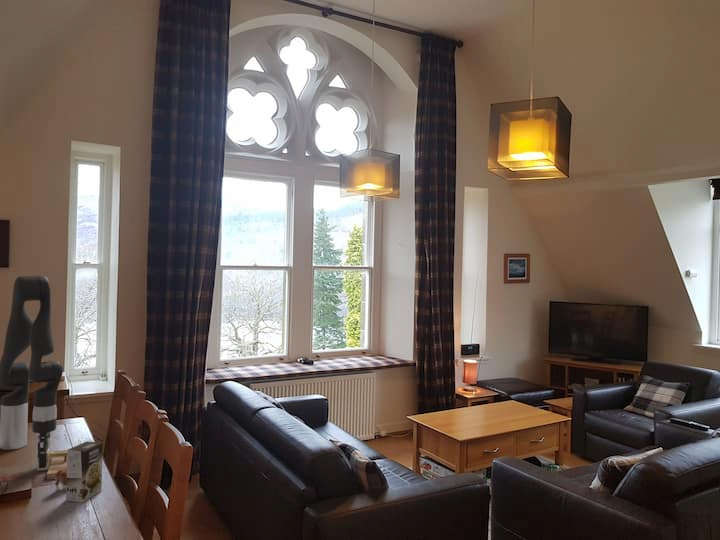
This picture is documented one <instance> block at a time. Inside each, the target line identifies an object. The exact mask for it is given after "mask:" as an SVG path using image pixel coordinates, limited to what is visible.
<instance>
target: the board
mask: <svg viewBox="0 0 720 540" xmlns="http://www.w3.org/2000/svg"><path fill="white" fill-rule="evenodd" d="M59 452H68V449H67V450H56V451H55V450H54V451H53V453H59ZM67 457H68V456H67ZM65 467H67V460H66V461H64V456H62V457H52V458H50V462H49V469H48V470H47V472H46V480H47V479H49V480H56V479H55V478H56V477H55V475H56V473H57V471H59V470H60V469H62V468H65Z"/></svg>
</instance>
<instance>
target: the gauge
mask: <svg viewBox="0 0 720 540" xmlns="http://www.w3.org/2000/svg"><path fill="white" fill-rule="evenodd" d="M42 453H44V452H41V454H42ZM62 456H64V461H66V460H67V456H68V452H59V453H54V452H51V451H50V448H49V450H47V457H46V467H45V468H39V457H38V452H37V455H36V472H39V471H48V469H49V466H50V461H51V459H52V457H62Z"/></svg>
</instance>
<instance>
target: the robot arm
mask: <svg viewBox="0 0 720 540" xmlns="http://www.w3.org/2000/svg"><path fill="white" fill-rule="evenodd" d="M51 295H52V294H51V284H50V280H49V278H48V277H47V276H46V275H21V276H20V275H19V276H18V277H16V279H15V280H14V284H13V290H12V301H11V309H10V316H9V319H8V320H9V321H8V324H7V328H6V332H5V333H6V334H5V339H4V347H3V351H2V355H1V357H0V358H1V359H0V388H13V387H17V388H15V389H14V390H13V391H11V392H10V393H8V394H5V395H3V396H2V397H1V399H0V450H7V451H9V450H18V449H22V448H25V447H26V446H27V445H28V415H29V412H28V411H29V394H30V393H29V392H30V391H29V390H30V381H31V382H33V383H35V384H38V383H39V384H40V383H46V384H45V385H44V386H41V387H39V388H36V389H35V390H34V392H33V393H34V394H33V409H32V422H31V427H32V428H31V431H32V432H33V433H35V434H38V435H37V437H36V442H37V444H36V445H37V447H36V450H37V453H38V457H39V468H45V467H46V457H47V450H49V449H50V446H51V438H52V434H51V432H54V431H56V429H57V417H58V413H57V412H58V409H57V393H58V388H59V387H60V382H61V379H62V377H63V373H64V368H63V364H61V362H60V361H58V360H48V361H43V362H42V360H43V357H45V356H46V357H47V356H49V355H51V354H53V353H54V352H55V348H54V341H53V334H52V326H51V324H52V321H51V320H52V319H51V318H52V313H51V312H52V305H51V304H52V301H51V299H52V298H51ZM31 301H32V302H33V301H35V302H36V301H39V311H38V313H37V315H36V318H35V320H33V318H32V317H31V316H30V315H29V314H28V312H27V310H26V308H25V303H26V302H31ZM29 348H30V351H31V353H30V354H31V355H30V364H29V363H28V362H24V361H23V362H15V361H16V359H18V358H19V357H20V356H21V355H22V354H23V353H24V352H25V351H26V350H27V349H29ZM41 452H44V453H42V454H41Z"/></svg>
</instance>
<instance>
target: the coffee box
mask: <svg viewBox="0 0 720 540" xmlns="http://www.w3.org/2000/svg"><path fill="white" fill-rule="evenodd" d="M67 450H68V457H67V481H66V487H65V490H66V491H65V501H68V502H76V503H84V502H87V501H88V500H89V499H91V498H93V497H95V496H96V495H98V494H99V493H101V492H102V483H103V482H102V480H103V454H104V451H103V450H104V442H102V441H101V442H100V441H99V442H98V441H84V442H82V443H80V444H77V445H75V446H72V447H70V448H68V449H67Z"/></svg>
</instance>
